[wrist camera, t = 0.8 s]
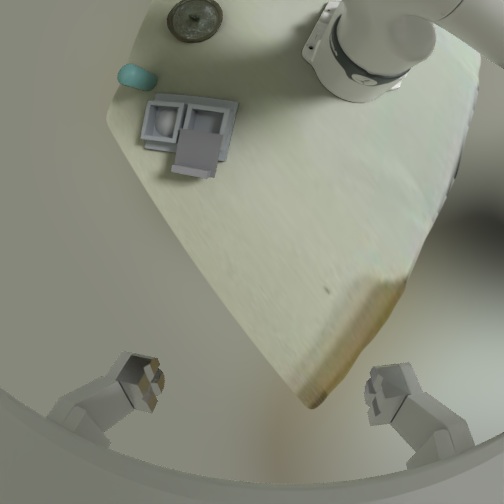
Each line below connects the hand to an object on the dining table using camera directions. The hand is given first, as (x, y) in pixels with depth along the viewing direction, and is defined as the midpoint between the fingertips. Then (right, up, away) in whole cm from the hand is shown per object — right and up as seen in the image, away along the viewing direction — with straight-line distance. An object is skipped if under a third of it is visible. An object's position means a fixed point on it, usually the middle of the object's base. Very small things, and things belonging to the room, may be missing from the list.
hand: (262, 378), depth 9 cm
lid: (-11, +48, +27) cm, 56 cm away
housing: (-12, +28, +35) cm, 46 cm away
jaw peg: (-21, +38, +33) cm, 54 cm away
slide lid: (-9, +21, +33) cm, 40 cm away
